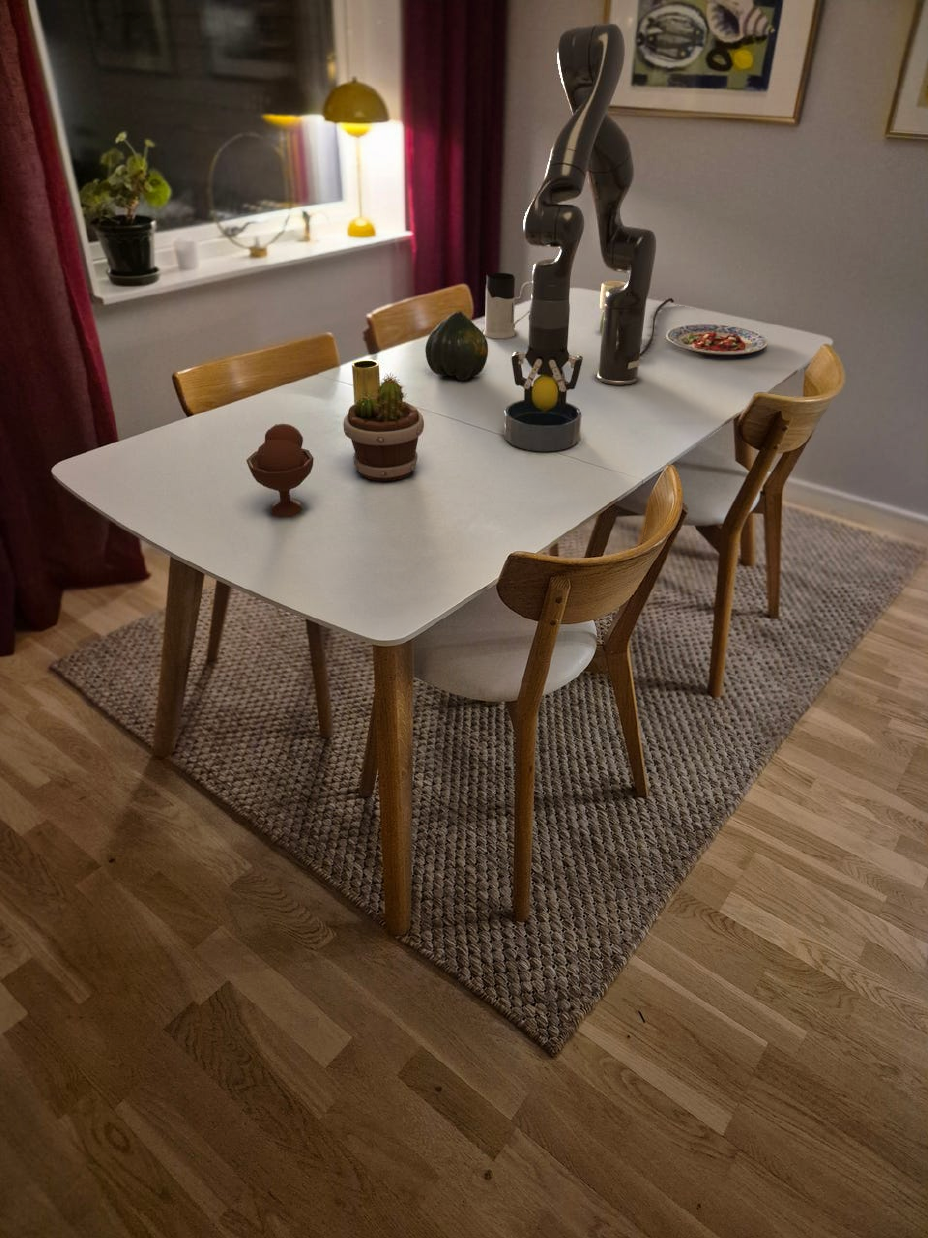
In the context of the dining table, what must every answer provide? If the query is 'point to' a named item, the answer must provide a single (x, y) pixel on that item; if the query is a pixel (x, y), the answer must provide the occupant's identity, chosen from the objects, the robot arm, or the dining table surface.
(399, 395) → the flowerpot
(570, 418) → the bowl
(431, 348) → the squash
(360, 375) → the vase
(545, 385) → the lemon
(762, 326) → the dining table surface
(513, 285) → the glass holder
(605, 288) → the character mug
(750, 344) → the ceramic plate
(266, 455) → the ice cream bowl
